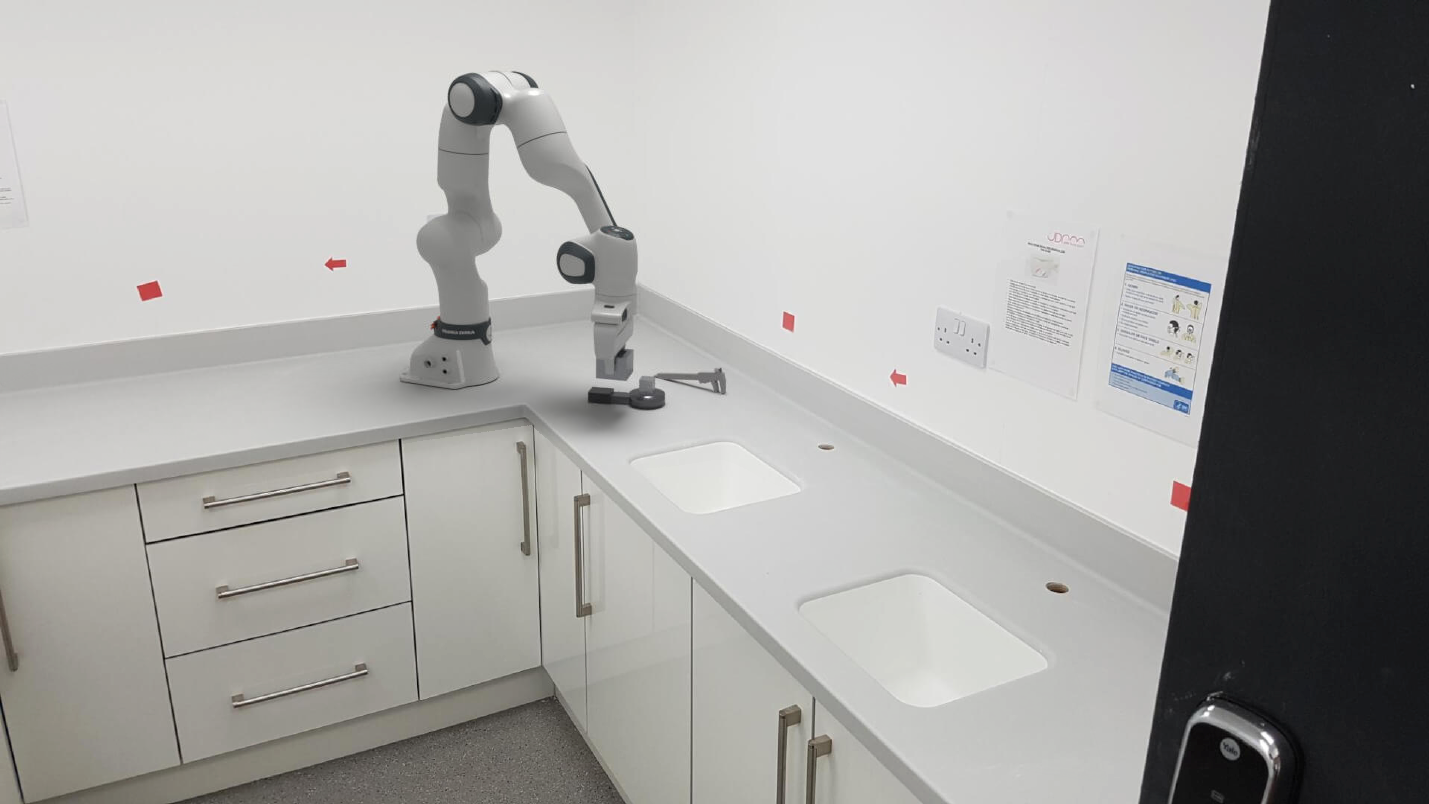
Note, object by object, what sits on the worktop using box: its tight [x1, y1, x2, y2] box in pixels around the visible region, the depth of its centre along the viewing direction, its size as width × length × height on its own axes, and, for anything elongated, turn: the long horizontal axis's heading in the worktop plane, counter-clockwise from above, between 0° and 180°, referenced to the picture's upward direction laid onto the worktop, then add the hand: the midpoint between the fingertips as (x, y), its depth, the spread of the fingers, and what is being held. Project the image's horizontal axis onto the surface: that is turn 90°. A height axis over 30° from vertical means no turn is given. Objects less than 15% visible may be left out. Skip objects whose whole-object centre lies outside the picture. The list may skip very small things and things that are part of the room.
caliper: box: [652, 367, 727, 395], centre depth 256 cm, size 20×1×6 cm, turn 56°
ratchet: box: [587, 375, 666, 411], centre depth 244 cm, size 17×8×6 cm, turn 82°
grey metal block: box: [595, 348, 635, 382], centre depth 234 cm, size 7×7×5 cm
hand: (614, 367), depth 234 cm, fingers closed on grey metal block, 7 cm apart
